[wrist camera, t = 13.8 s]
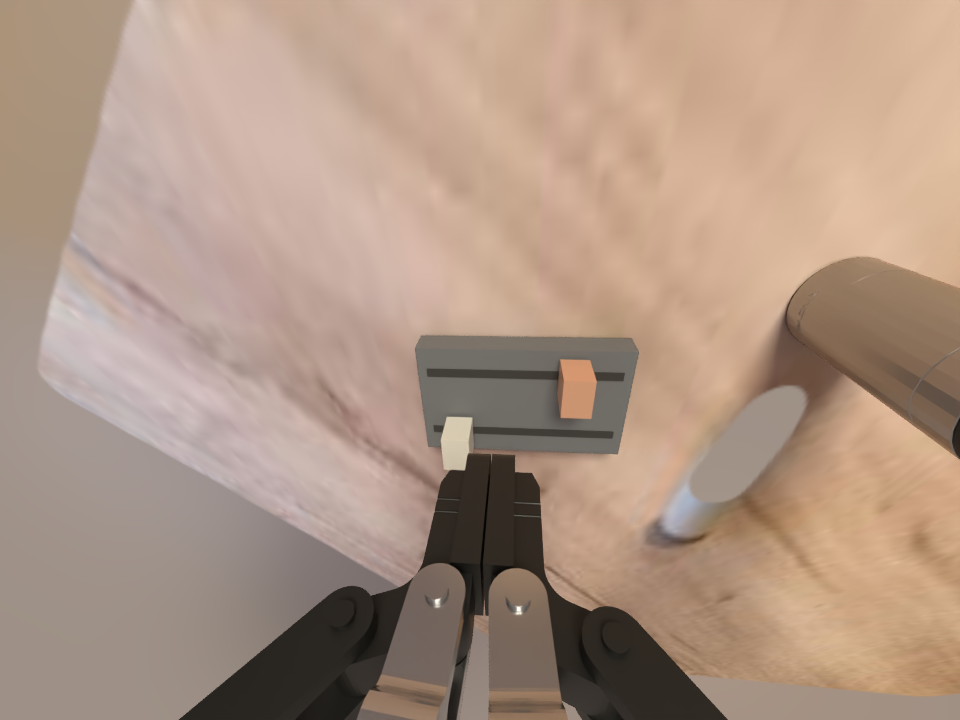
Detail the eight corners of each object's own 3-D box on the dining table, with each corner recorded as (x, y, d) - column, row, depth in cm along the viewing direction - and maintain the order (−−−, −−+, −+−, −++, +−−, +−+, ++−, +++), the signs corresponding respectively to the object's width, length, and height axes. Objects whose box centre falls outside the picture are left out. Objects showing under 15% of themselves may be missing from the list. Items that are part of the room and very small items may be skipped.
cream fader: (472, 417, 44) (468, 441, 41) (473, 445, 46) (470, 470, 43) (446, 416, 44) (440, 440, 41) (449, 444, 47) (443, 469, 43)
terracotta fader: (590, 360, 39) (596, 381, 35) (585, 395, 41) (591, 418, 38) (560, 359, 39) (563, 381, 36) (557, 394, 41) (560, 417, 38)
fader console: (631, 338, 41) (639, 352, 38) (612, 437, 48) (618, 454, 45) (421, 335, 43) (414, 348, 40) (432, 430, 50) (428, 447, 47)
